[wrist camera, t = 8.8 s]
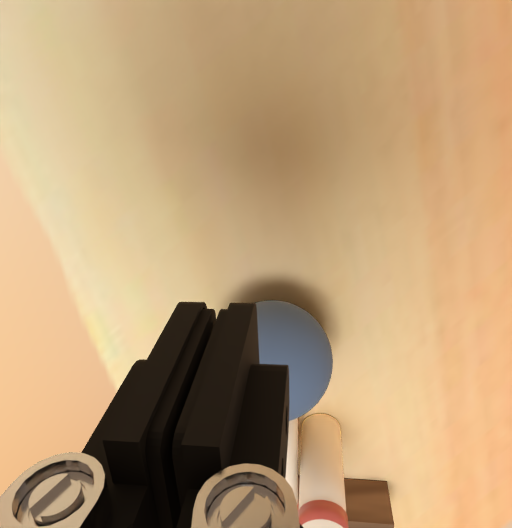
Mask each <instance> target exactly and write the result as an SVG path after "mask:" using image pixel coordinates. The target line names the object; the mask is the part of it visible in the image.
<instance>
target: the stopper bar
mask: <svg viewBox="0 0 512 528" xmlns="http://www.w3.org/2000/svg"><path fill="white" fill-rule="evenodd" d="M299 484H300V476H298V499H299ZM344 487H345V501H346V513H347V516H348V528H394V521H393V515H392V509H391V504H390V498H389V492H388V486H387V481H372V480H357V479H344Z"/></svg>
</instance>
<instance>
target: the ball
mask: <svg viewBox="0 0 512 528" xmlns="http://www.w3.org/2000/svg"><path fill="white" fill-rule="evenodd" d="M255 304H256V307H257V321H258V341H259V361H260V364H277V365H288V366H289V421H291V420H294V419H296V418H298V417H300V416H302V415H304V414H305V413H307V412H308V411H310V410H311V409H312V408H313V407H314V406H315V405H316V404H317V403H318V402H319V400H320V399H321V398H322V396H323V395H324V393H325V391H326V389H327V387H328V384H329V382H330V378H331V374H332V364H333V360H332V351H331V346H330V343H329V340H328V338H327V335H326V333H325V332H324V330H323V328H322V327H321V325H320V324H319V323H318V322H317V320H316V319H315V318H314V317H313V316H312V315H310V314H309V313H308V312H307V311H305V310H304V309H302V308H300V307H298V306H296V305H294V304H291V303H288V302H284V301H277V300H267V301H260V302H257V303H255Z"/></svg>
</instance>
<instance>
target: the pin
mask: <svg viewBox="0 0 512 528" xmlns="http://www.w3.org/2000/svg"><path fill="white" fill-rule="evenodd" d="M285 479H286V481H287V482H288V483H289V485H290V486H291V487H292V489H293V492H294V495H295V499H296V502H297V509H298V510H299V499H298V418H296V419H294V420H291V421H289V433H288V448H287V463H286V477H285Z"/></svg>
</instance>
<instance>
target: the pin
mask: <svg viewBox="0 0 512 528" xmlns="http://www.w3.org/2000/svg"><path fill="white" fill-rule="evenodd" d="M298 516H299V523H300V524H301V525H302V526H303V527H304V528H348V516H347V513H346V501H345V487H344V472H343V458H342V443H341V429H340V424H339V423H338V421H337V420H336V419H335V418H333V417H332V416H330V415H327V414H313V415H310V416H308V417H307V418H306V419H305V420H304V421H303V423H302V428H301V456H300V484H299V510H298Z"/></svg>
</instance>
